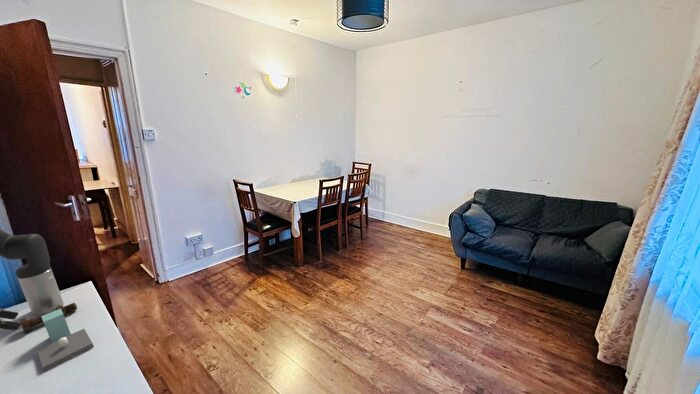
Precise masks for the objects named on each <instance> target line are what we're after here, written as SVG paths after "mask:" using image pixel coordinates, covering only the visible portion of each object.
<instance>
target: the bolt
mask: <svg viewBox="0 0 700 394" xmlns="http://www.w3.org/2000/svg"><path fill="white" fill-rule="evenodd" d="M59 309H61V310H62V312H63V314H64V317H66V316H67V314H70V313H71V312H75V311H77V310H78V307H77V304H76V303H75V302H72V303H70V304H68V305H63V306H62V305H60V306H57V307H56V310H59ZM56 310H53V311H56ZM53 311H51V312H53ZM51 312H48V313H51ZM48 313H46V314H48ZM46 314H43V315H46ZM43 315H41V316H43ZM41 316H35V317H32V318H29V319H27V318H26V317H22V318H21V319H20V320H19V322H20V323H21V325H20V327H21V329H22V331H23V333H24V334H28V333H30V332H32V331H31V329H33V328H35V327H37V326H39V325H42V324H44V322H43V320H42V317H41Z"/></svg>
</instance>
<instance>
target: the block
mask: <svg viewBox="0 0 700 394" xmlns="http://www.w3.org/2000/svg"><path fill="white" fill-rule="evenodd" d="M41 317H42V320H43V322H44V323H43V325H44V327H45V330H46V331H47V334H48V338H49V340H50V342H51V343H53V342H55V341H57V340H59V339H60V338H62V337H66V336H68V335H71V334H72V333H71V331H70V328H69V326H68V322H67V320H66V318H65V317H66V316H65V317H64V314H63V312H62V310H61V309H59V310H56V311H53V312H51V313H48V314H46V315H43V316H41Z"/></svg>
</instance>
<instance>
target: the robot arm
mask: <svg viewBox="0 0 700 394" xmlns="http://www.w3.org/2000/svg"><path fill="white" fill-rule="evenodd" d="M49 254H50V253H49V251H48V247H47V244H46V241H45V239H44V237H43V236H41V234H37V233H29V234H18V235H15V234H11V233H8V232H6V231H5V230H3V229H1V228H0V256H1V257H2V258H4V259H6V260H22V259H24V260H25V259H26V264H24V265H22V266H20V267H19V268H17V269H16V270H15V275H16V278H17V280H18V283H19V285H20V287H21V290H22V292H23V295H24V298H25V299H26V300H25V301H26V302H27V305H28V307H29V310H30V312H31V314H32V316H34V317H37V316H41V315H43V314H46V313H48V312H51V311H53V310H56V307H57V306H60V305H62V306H63V307H64V301H63V298H62V295H61V294H62V293H61V292H60V289H59V287H58V284H57V280H56V278H55V275H54V272H53V270H52V267H51V257H50V255H49ZM18 316H19V312H16V311H13V310H12V311H10V310H6V309H4V308H2V307H1V306H0V329H3V330H8V331H9V330H11V331H17V330H18V329H19V328H20V327H21V323H20V321H19V322H18V321H14V320H16V318H17V317H18ZM5 319H6V320H5ZM11 320H12V321H11Z"/></svg>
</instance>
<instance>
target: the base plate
mask: <svg viewBox="0 0 700 394" xmlns="http://www.w3.org/2000/svg"><path fill="white" fill-rule="evenodd" d="M92 348H94V344H93V342H92V340H91V338H90V337H89V335H88V333H87V330H86V329H85V328H82V329H80V330H78V331H75V332H74V333H71V335H68V336H66V337H62V338H60V339H59V340H57V341H55V342H53V343H52V342H51V343H49V344H46V345H44V346H42V347H40V348H37V349H36V351H37V354H38V357H39V361H40V364H41V367H42V369H43V371H44V372H45V371H47V370H49V369H51V368H53V367H55V366H58V365H59V364H62V363H64V362H65V361H68V360H69V359H72V358H73V357H76V356H78V355H80V354H81V353H83V352H86V351H88V350H91V349H92Z"/></svg>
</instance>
